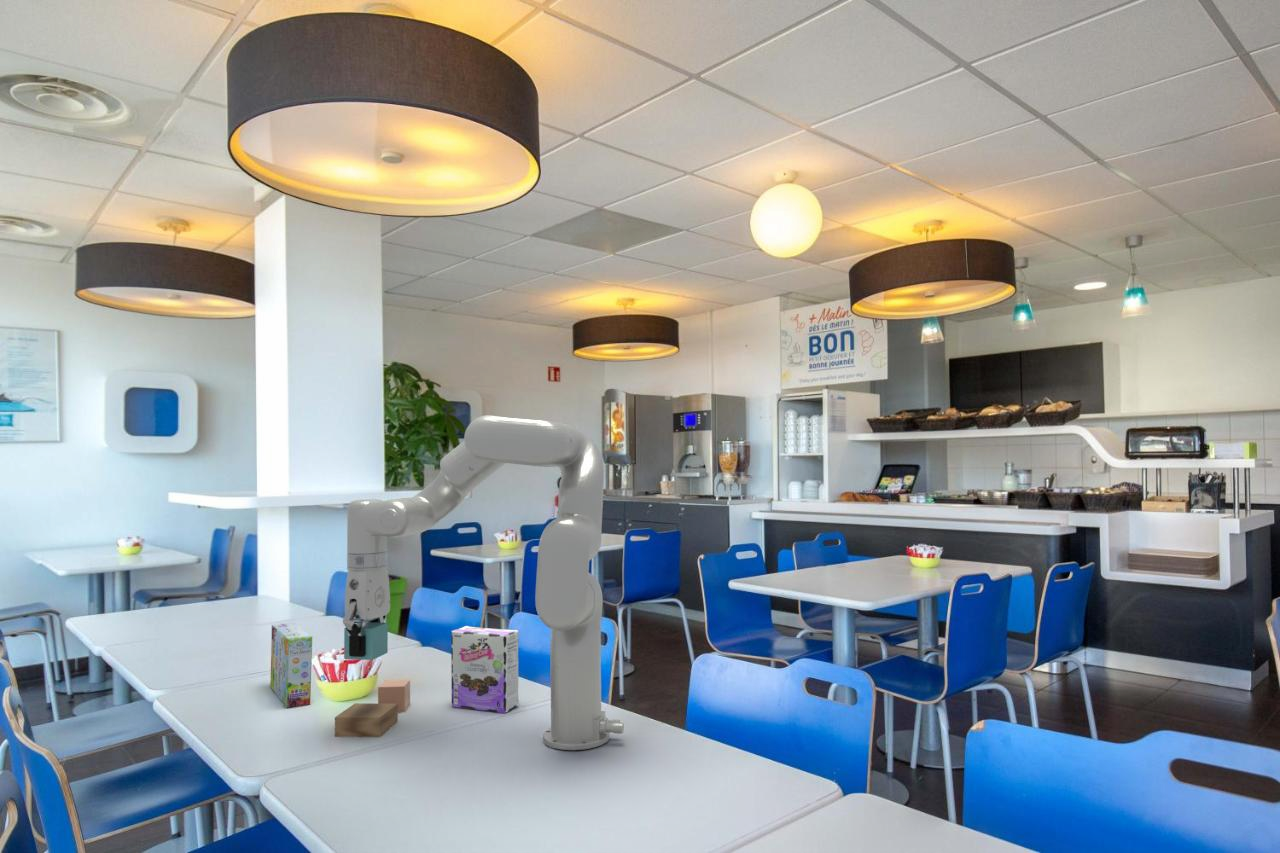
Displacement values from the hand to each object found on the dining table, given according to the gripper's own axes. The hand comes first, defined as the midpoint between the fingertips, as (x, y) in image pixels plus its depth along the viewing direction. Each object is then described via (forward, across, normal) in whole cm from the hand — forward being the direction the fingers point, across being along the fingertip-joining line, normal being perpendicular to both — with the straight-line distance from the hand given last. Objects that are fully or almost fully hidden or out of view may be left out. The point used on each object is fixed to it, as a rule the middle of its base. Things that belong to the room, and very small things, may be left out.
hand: (366, 651), depth 158 cm
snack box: (+16, +19, +30) cm, 39 cm away
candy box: (+15, +17, -18) cm, 29 cm away
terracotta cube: (+15, +13, +1) cm, 20 cm away
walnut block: (+16, 0, 0) cm, 16 cm away
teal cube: (+1, 0, 0) cm, 1 cm away
